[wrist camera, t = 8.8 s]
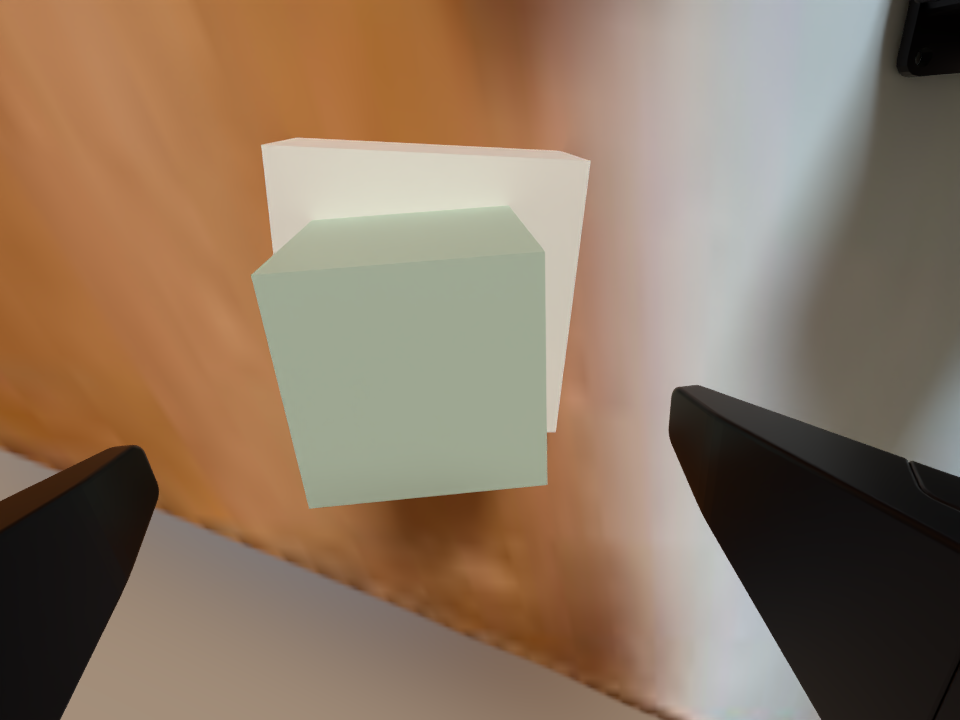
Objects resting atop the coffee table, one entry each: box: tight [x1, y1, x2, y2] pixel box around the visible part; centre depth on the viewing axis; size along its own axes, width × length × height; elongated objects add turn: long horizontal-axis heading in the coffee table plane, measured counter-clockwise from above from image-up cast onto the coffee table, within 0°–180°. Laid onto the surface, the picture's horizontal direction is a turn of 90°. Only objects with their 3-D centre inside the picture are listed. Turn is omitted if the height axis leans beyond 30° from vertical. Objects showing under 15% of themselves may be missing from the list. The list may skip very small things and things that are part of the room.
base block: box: [261, 138, 591, 432], centre depth 17 cm, size 8×8×4 cm
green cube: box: [251, 205, 547, 509], centre depth 12 cm, size 5×5×5 cm
